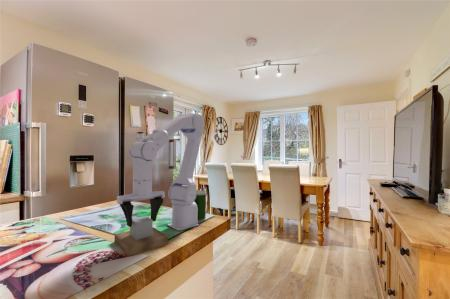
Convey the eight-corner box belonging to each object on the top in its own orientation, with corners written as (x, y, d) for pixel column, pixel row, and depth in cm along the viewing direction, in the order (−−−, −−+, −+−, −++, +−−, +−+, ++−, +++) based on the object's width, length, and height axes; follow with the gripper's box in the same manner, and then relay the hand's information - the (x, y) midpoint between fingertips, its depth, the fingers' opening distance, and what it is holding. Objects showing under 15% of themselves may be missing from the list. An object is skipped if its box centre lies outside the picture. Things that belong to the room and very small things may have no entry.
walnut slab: (150, 234, 78) (151, 226, 78) (167, 245, 69) (168, 236, 69) (114, 243, 70) (114, 234, 70) (128, 257, 61) (128, 247, 61)
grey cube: (145, 231, 73) (145, 216, 73) (152, 235, 69) (152, 219, 69) (129, 235, 70) (130, 219, 70) (136, 240, 66) (136, 223, 66)
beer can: (196, 222, 90) (196, 193, 90) (190, 218, 95) (191, 190, 95) (207, 220, 93) (208, 191, 93) (201, 216, 98) (202, 189, 98)
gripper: (158, 176, 78) (157, 215, 78) (113, 180, 68) (112, 224, 68) (168, 179, 72) (167, 220, 73) (122, 183, 62) (121, 231, 63)
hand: (141, 223), depth 70 cm, fingers open, 7 cm apart
